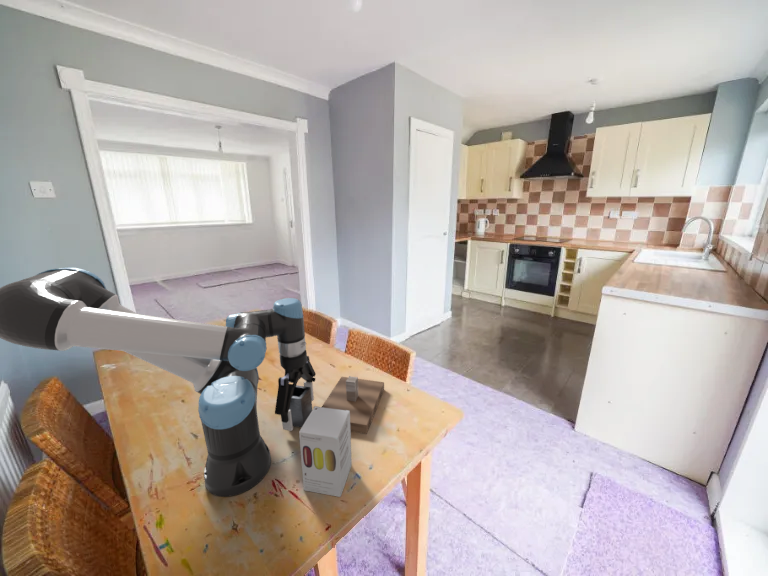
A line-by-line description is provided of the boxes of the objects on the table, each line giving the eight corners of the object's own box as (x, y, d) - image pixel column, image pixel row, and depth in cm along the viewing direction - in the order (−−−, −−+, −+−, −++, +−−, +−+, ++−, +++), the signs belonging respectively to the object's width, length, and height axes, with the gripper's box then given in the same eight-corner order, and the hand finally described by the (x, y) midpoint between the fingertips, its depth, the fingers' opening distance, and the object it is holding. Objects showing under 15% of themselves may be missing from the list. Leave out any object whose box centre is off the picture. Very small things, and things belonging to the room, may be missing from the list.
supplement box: (302, 491, 72) (296, 431, 67) (317, 459, 81) (313, 404, 76) (341, 498, 70) (338, 437, 65) (352, 464, 79) (350, 409, 74)
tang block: (366, 433, 89) (366, 404, 86) (315, 424, 93) (313, 396, 90) (384, 389, 110) (384, 364, 107) (341, 383, 113) (340, 359, 110)
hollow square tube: (303, 428, 92) (301, 399, 89) (285, 424, 93) (282, 396, 90) (312, 414, 97) (310, 387, 94) (295, 411, 99) (292, 384, 96)
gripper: (281, 376, 76) (289, 446, 82) (323, 334, 99) (327, 390, 105) (254, 373, 78) (264, 441, 84) (301, 332, 101) (307, 388, 107)
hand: (299, 413), depth 94 cm, fingers open, 13 cm apart
